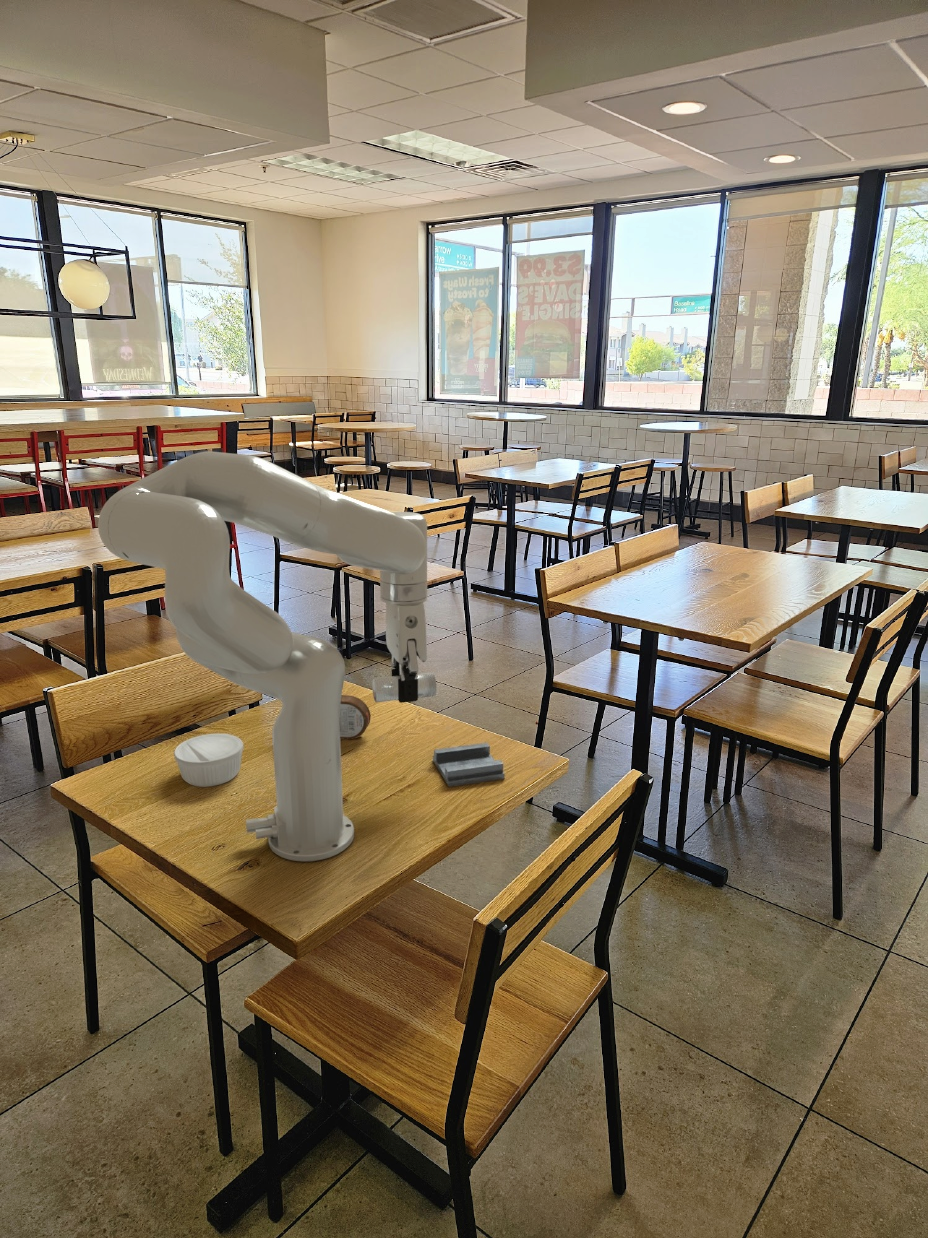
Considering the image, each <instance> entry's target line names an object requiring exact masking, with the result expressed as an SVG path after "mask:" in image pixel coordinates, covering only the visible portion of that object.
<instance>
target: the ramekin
mask: <svg viewBox="0 0 928 1238" xmlns="http://www.w3.org/2000/svg"><path fill="white" fill-rule="evenodd" d="M243 751H244V742H243V740H241V738H240V737H238V736H236V735H233V734H230V733H220V732H219V733H217V732H216V733H208V734H202V735H201V734H200V735H197V736H193V737H191V738H188V739H186V740H184V741H182V742H181V743H179V745H177V747H176V748H175V749H174V751H173V752H174V753H173V756H174V760H175V761H176V763H177V767H178V769H179V771H180V775H181V777H182V780H183V781H185V782H186V783H188V784H190V785H191V786H194V787H200V788H201V787H202V788H206V787H208V788H209V787H215V786H218V785H219V786H220V785H222V784H225V783H227V782H229V781H232V780H233V779H234V778H235V777H236V776H237V775H238V774H239V772H240V770H241V765H242V756H243Z"/></svg>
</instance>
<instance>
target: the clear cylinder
mask: <svg viewBox="0 0 928 1238" xmlns="http://www.w3.org/2000/svg"><path fill="white" fill-rule="evenodd" d="M398 679H400V676H392V675H391V676H383V677H373V679H372V686H371V687H372V695H373V696H372V697H373V699H374V702H375V703H383V702H391V701H392V702H393V701H394V702H395V701H399V700H398ZM436 695H437V679H436V676H435V673H434V672H424V673H418V699H419V698H421V699H422V698H429V697H435V696H436Z"/></svg>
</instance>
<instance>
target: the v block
mask: <svg viewBox="0 0 928 1238" xmlns="http://www.w3.org/2000/svg"><path fill="white" fill-rule="evenodd" d="M490 750H491V746H490V745H489V743H488V742H483V743H475V744H467V745H460V746H450V747H444V748H437V749H434V750H433V755H432V761H433V763H434V765H435V767H436V768H437V770H438V772H439V773H440V775H441V777H442V778H443V780H444V781H445V783H446V785H447V787H448V788H451V787H452V788H453V787H458V786H465V785H466V786H467V785H472V784H479V783H485V782H490V781H491V782H492V781H493V782H494V781H499V780H505V777H506V773H505V772H504V763H503V761H502V760H501V759H496V760H495V758H494V757H493V756H492V754H490V753H491V751H490Z"/></svg>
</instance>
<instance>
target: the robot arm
mask: <svg viewBox="0 0 928 1238" xmlns="http://www.w3.org/2000/svg"><path fill="white" fill-rule="evenodd" d="M226 522H229V523H234V524H237V525H240V526H244V527H246V528H249V529H252V530H254V531H258V532H260V533H263V534H266V535H269V536H271V537H274V538H276V539H280V540H282V541H284V542H287V543H290V544H292V545H295V546H298V547H300V548H303V549H304V548H305V549H308V550H311V551H315V552H320V553H325V554H331V555H335V556H337V557H338V559H339V560H340V561H342V562H343V563H345V564H347V565H350V566H352V567H356V568H363V569H367V570H376V571H379V580H380V581H379V582H380V583H379V584H380V585H379V586H380V588H379V589H380V593H379V595H380V597H379V598H380V601H381V602H383V603H385V639H386V640H385V641H386V647H387V649H388V651H389V653H390V654H391V676H400V679H398V700H397V701H398V702H399V703H400V704H403V703H411V702H416V701H418V699H419V698H418V674H419V663H418V659H419V660H420V661H421V662H422V663H424V662H426V661H427V660H428V641H427V640H428V638H427V625H426V624H427V622H426V612H425V604H424V602H426V601H427V600H428V522H427V519H426V518H425V516H424V515H423V514H420V513H418V512H412V511H394V512H391V511H388V510H385V509H383V508H380V507H378V506H375V505H371V504H368V503H366V502H363V501H360V500H357V499H355V498H352V497H349V496H347V495H344V494H342V493H339V492H335V491H333V490H329V489H328V488H324V487H322V486H321V485H317V484H315V483H313V482H311V481H309V480H308V479H305V478H303V477H301V476H299V475H297V474H295V473H293V472H291V471H289V470H287V469H285V468H283V467H281V466H279V465H277V464H275V463H273V462H270V461H269V460H266V459H264V458H261V457H258V456H254V455H249V454H241V453H230V452H221V451H220V452H219V451H207V450H206V451H200V452H197V453H193V454H190V455H187V456H185V457H183V458H181V459H179V460H176V461H174V462H173V463H170V464H168V465H167V466H164V467H163V468H161V469H159V470H157V471H155V472H152V473H151V474H149V475H147V476H145V477H142V478H141V479H139V480H137V481H135V482H133V483H131V484H129V485H127V486H125V487H124V488H121V489H120V490H118V491H117V492H116V493H114V494H113V495H112V496H111V497H110V498H109V499H108V500H106V502H105V503H104V505H103V506H102V508H101V510H100V512H99V515H98V522H97V523H98V524H97V528H98V529H97V530H98V535H99V538H100V540H101V542H102V543H103V545H104V546H105V548H106V549H107V550H108V551H109V552H110V553H111V554H113V555H115V557H117V558H119V559H122V560H123V561H124V560H125V561H127V562H131V563H135V564H140V565H144V566H149V567H154V568H158V569H163V570H164V573H165V577H164V578H165V579H164V580H165V581H164V600H165V602H164V603H165V612H166V615H167V618H168V620H169V621H170V623H171V625H172V626H173V627H174V628H175V635H176V640H177V643H178V645H179V647H180V648H181V651H183V653H184V654H185V655H186V656H187V657H188V658H189V659H191V660H192V661H194V662H195V663H196V664H199V665H201V666H203V667H204V668H206V669H208V670H209V671H212V672H213V673H215V674H216V675H218V676H221V678H224V679H226V680H228V681H230V682H231V683H233V684H235V685H238V686H240V687H242V688H244V689H247V690H250V691H253V692H256V693H259V694H262V695H265V696H269V697H272V698H274V699H277V700H279V701H280V702H281V706H282V707H281V709H280V712H279V714H278V715H277V717H276V718H275V721H274V723H273V727H272V734H271V735H272V751H273V752H272V753H273V764H274V765H273V766H274V778H275V779H274V780H275V782H274V783H275V796H276V806H274V807H273V813H272V814H267V817H261V818H251V819H246V820H245V828H246V833H247V834H251V833H255V840H261V839H266V838H268V846H269V848H270V849H271V851H272V852H273V853H274V854H275V855H277V856H279V857H281V858H282V859H286V860H288V861H295V862H316V861H322V860H325V859H326V860H327V859H328V858H331V857H334V856H337V855H339V854H340V853H341V852H343V851H345V850H346V849H348V848H349V846H351V844H352V842H353V840H354V838H355V825H354V823H353V822H352V820H350V817H349V818H348V817H347V816H346V815H344V806H343V805H344V804H343V803H344V802H343V801H344V800H343V779H342V778H343V777H342V753H341V751H342V747H341V739H340V703H341V695H343V689H344V683H345V678H346V677H345V676H346V666H345V661H344V658H343V655H342V654H341V652H340V651H339V650H338V649H337V648H336V647H335V646H333V645H332V643H329V642H328V641H326V640H323V639H320V638H317V637H315V636H310V635H308V634H303V633H298V632H293V631H291V628H290V626H289V625H288V623H287V622H286V620H285V619H284V618H283V617H282V616H281V615H280V614H279V613H278V612H277V611H276V610H274V609H273V608H271V607H270V606H268V605H266V604H265V603H264V602H262V601H260V600H259V599H257V598H256V597H254V596H253V595H252V594H250V593H249V592H247V591H246V590H245V589H243V588H242V587H241V586H239V584H237V583H236V582H235V581H234V580H233V579H232V578H231V575H230V550H231V549H230V548H231V543H230V541H231V540H230V539H231V538H230V534H229V529H228V526H227V524H226Z"/></svg>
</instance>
